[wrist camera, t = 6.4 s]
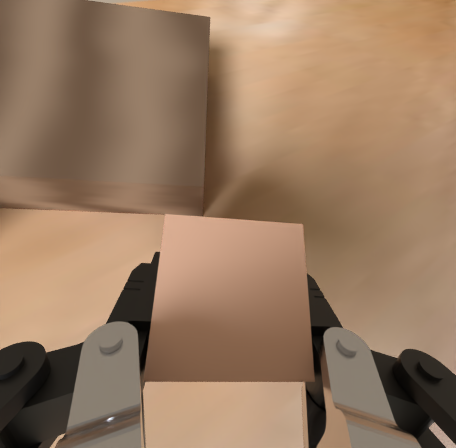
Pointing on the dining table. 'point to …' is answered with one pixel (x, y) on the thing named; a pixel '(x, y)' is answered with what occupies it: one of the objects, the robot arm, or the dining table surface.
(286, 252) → the terracotta block
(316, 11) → the dining table surface
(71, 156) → the walnut block
